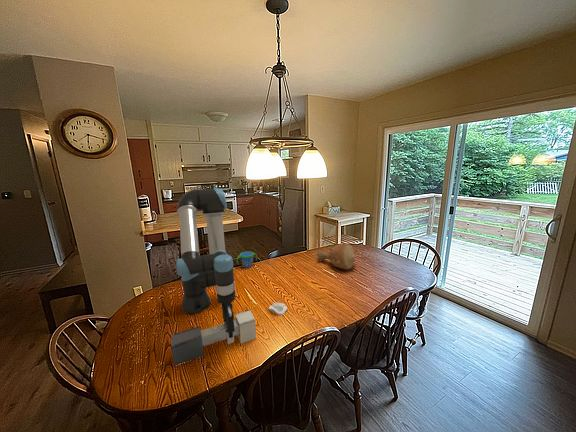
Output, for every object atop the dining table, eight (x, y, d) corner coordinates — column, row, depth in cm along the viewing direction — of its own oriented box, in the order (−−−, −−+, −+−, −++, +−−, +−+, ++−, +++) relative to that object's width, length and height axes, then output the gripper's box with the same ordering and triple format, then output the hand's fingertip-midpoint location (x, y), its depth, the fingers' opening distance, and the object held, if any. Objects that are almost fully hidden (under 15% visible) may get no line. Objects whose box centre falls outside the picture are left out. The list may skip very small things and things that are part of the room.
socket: (241, 343, 103) (239, 324, 101) (236, 333, 109) (235, 314, 107) (256, 338, 106) (255, 319, 104) (250, 328, 113) (249, 310, 110)
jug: (347, 262, 157) (309, 256, 176) (355, 276, 168) (319, 270, 187) (355, 238, 168) (318, 236, 186) (362, 253, 179) (327, 250, 197)
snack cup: (238, 270, 174) (237, 257, 171) (236, 264, 183) (235, 252, 181) (258, 267, 178) (258, 254, 176) (256, 261, 188) (255, 250, 186)
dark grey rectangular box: (174, 367, 92) (171, 346, 89) (174, 354, 98) (171, 334, 96) (203, 356, 96) (201, 336, 94) (201, 345, 102) (199, 326, 100)
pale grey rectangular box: (196, 349, 95) (195, 339, 94) (195, 341, 100) (193, 331, 99) (250, 331, 105) (249, 321, 104) (247, 324, 110) (246, 315, 109)
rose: (268, 308, 121) (268, 298, 130) (268, 316, 122) (269, 305, 131) (287, 308, 121) (286, 297, 130) (287, 315, 122) (286, 304, 131)
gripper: (240, 299, 93) (243, 349, 98) (229, 280, 108) (233, 324, 113) (220, 304, 90) (225, 355, 95) (213, 284, 105) (217, 329, 110)
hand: (229, 338), depth 104 cm, fingers closed on pale grey rectangular box, 4 cm apart
